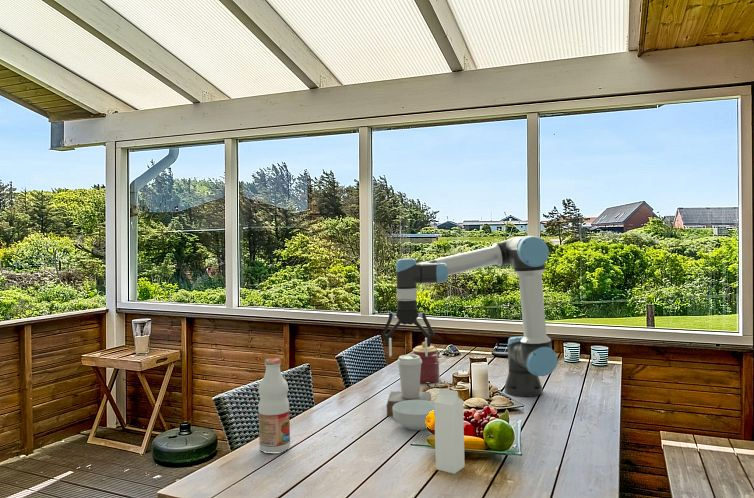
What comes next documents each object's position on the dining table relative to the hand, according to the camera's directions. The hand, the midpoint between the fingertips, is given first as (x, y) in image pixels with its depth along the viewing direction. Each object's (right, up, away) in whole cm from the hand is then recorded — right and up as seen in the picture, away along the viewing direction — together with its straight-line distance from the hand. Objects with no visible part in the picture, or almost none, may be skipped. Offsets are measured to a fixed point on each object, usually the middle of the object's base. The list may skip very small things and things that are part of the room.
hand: (408, 355), depth 208 cm
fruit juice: (-44, -22, -36) cm, 61 cm away
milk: (+9, -21, -54) cm, 59 cm away
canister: (+10, -20, +44) cm, 50 cm away
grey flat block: (+1, -21, 0) cm, 21 cm away
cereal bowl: (+2, -21, -19) cm, 28 cm away
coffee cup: (+1, -16, 0) cm, 16 cm away
